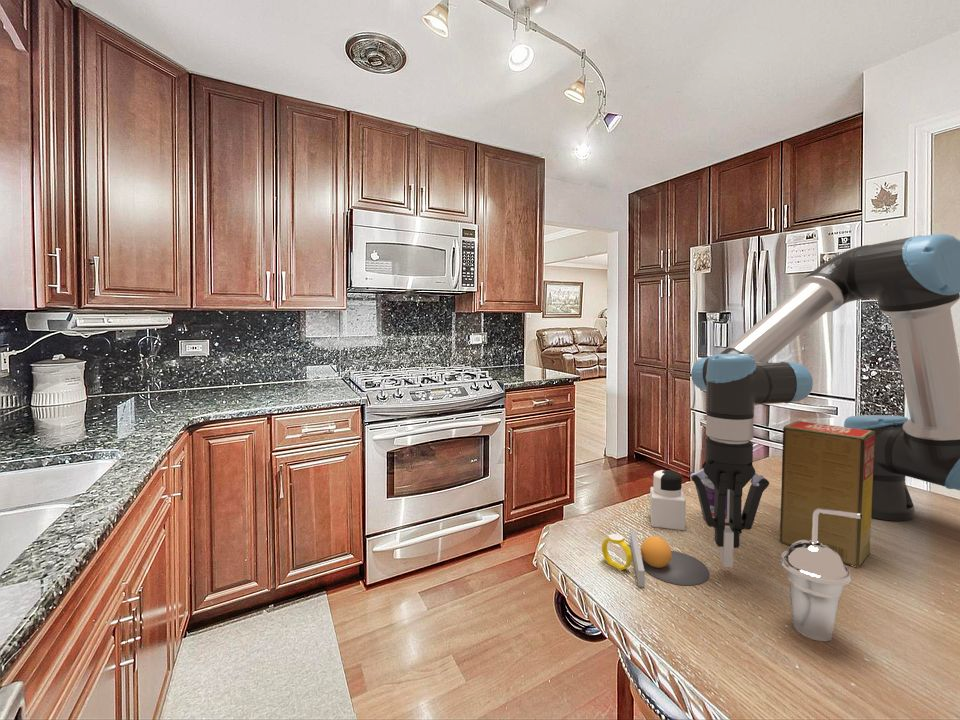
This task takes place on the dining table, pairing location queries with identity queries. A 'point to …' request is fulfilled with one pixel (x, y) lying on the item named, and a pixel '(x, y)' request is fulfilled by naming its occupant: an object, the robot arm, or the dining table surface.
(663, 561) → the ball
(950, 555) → the dining table surface
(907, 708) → the dining table surface
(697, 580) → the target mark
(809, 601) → the cup with straw
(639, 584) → the wall
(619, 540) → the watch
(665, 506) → the medicine bottle
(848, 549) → the food packaging
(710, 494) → the pill bottle
